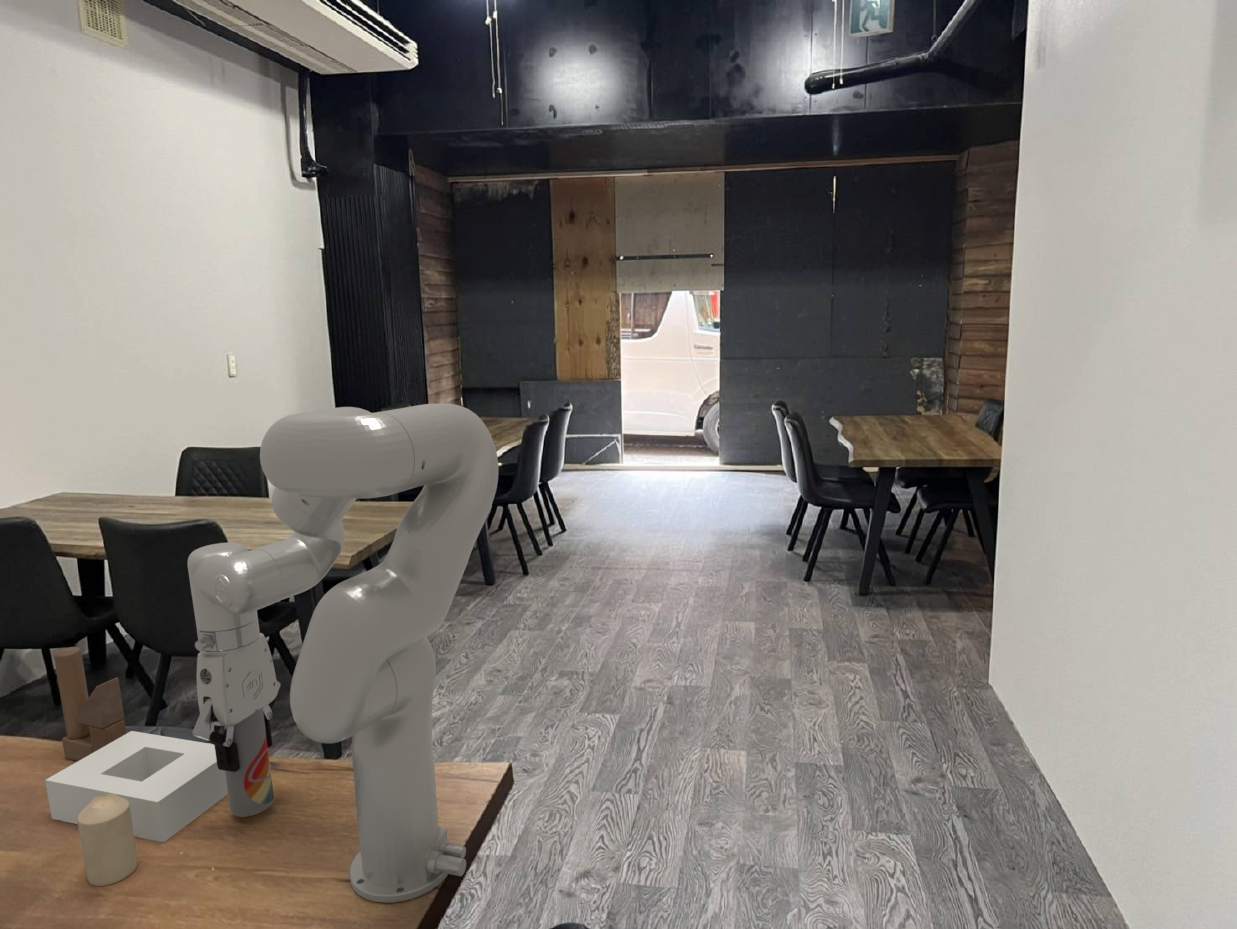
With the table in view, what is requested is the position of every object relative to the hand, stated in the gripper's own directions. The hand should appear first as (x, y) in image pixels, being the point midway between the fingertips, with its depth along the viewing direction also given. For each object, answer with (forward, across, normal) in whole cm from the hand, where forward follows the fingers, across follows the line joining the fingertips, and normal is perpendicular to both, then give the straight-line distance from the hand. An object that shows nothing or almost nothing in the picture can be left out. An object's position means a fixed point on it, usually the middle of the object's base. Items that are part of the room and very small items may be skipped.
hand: (245, 756), depth 113 cm
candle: (+9, -15, +8) cm, 19 cm away
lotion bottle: (+8, 0, 0) cm, 8 cm away
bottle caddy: (+8, -2, +17) cm, 19 cm away
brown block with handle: (+8, +5, +35) cm, 36 cm away
